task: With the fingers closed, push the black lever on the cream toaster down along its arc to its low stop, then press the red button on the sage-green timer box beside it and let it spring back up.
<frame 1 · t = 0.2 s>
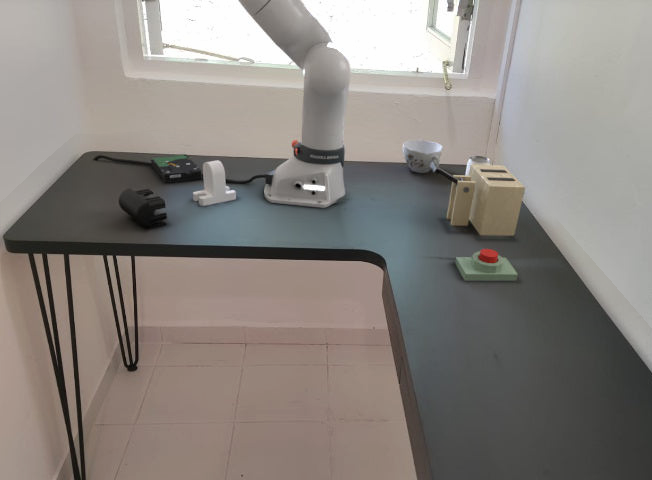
hand: (454, 13, 144), 48 cm above the table, tool pointing down, fingers open, 8 cm apart
button: (488, 256, 132), point 4 cm above the table, slide at 0.1 cm
lever bracket: (456, 226, 154), on the table
teacup: (421, 171, 189), on the table
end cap: (144, 222, 140), on the table
lever: (450, 177, 147), point 13 cm above the table, hinge at 28.0°
disk drive: (176, 173, 169), on the table
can: (472, 200, 172), on the table
toaster: (486, 226, 156), on the table
white mounting bracket: (214, 199, 155), on the table
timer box: (485, 272, 134), on the table
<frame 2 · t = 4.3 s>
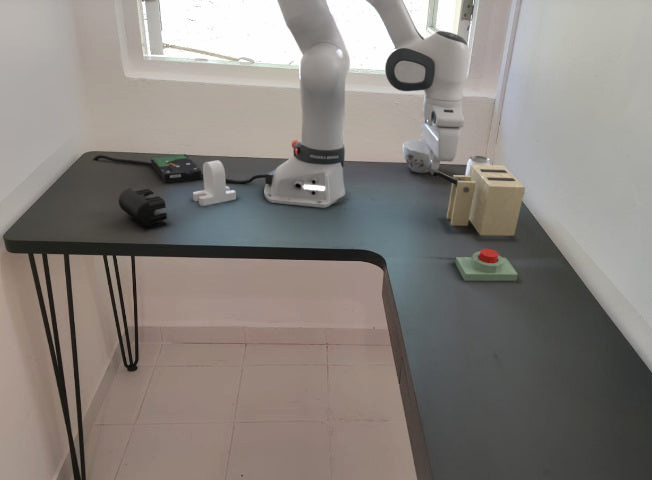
hand: (433, 167, 145), 15 cm above the table, tool pointing down, fingers closed, pressing on lever
lever: (449, 179, 147), point 13 cm above the table, hinge at 22.7°, touching gripper
everything else where it was.
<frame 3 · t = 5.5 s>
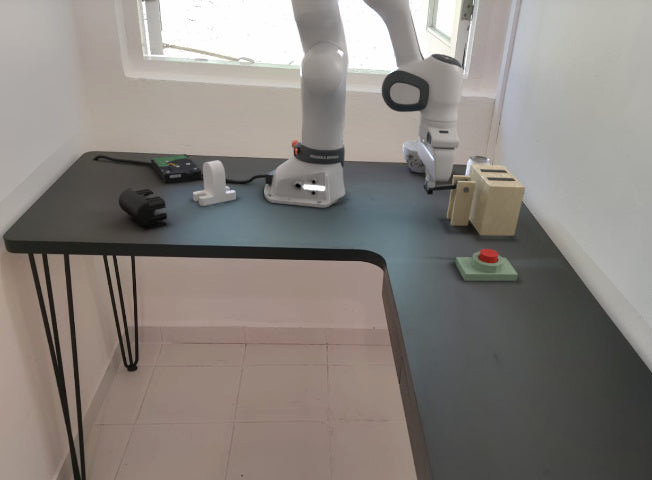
hand: (429, 186, 147), 11 cm above the table, tool pointing down, fingers closed, pressing on lever
lever: (447, 186, 148), point 11 cm above the table, hinge at -6.7°, touching gripper
everything else where it was.
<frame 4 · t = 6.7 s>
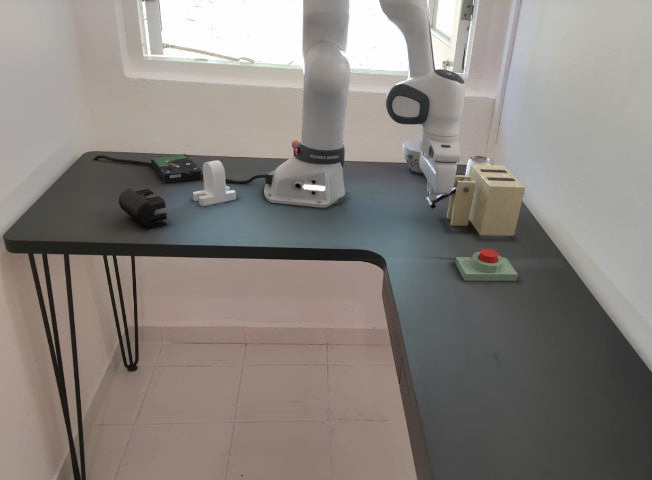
hand: (431, 198, 149), 7 cm above the table, tool pointing down, fingers closed, pressing on lever
lever: (448, 193, 149), point 9 cm above the table, hinge at -31.1°, touching gripper
everything else where it was.
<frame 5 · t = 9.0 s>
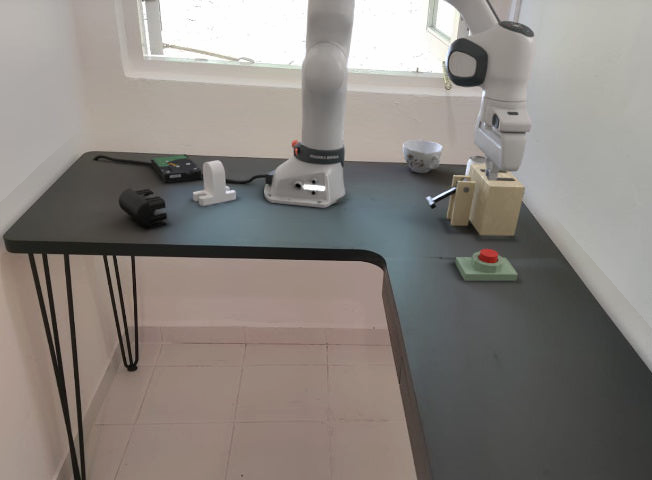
hand: (490, 178, 127), 20 cm above the table, tool pointing down, fingers closed
lever: (448, 193, 149), point 9 cm above the table, hinge at -31.2°
everything else where it was.
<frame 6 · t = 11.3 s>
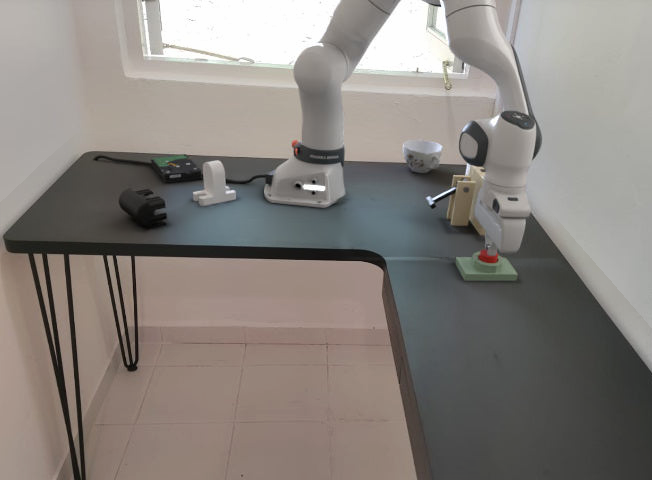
hand: (489, 253, 131), 5 cm above the table, tool pointing down, fingers closed, pressing on button
button: (488, 256, 132), point 4 cm above the table, slide at 0.0 cm, touching gripper
everything else where it was.
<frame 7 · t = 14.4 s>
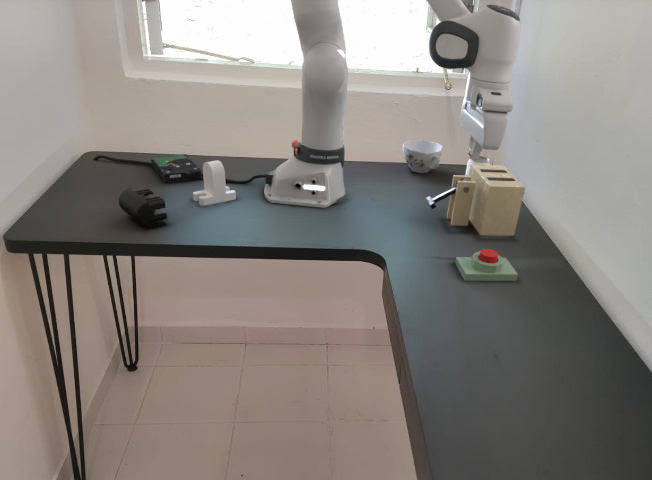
hand: (473, 157, 132), 22 cm above the table, tool pointing down, fingers closed
button: (488, 256, 132), point 4 cm above the table, slide at 0.1 cm
everything else where it was.
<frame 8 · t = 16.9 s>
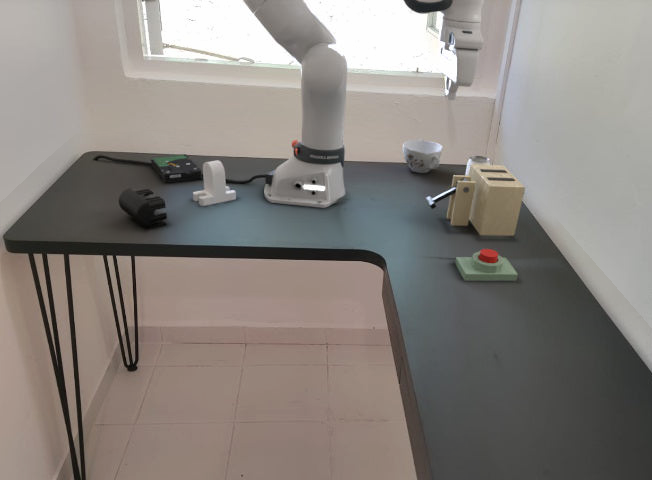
hand: (449, 98, 139), 31 cm above the table, tool pointing down, fingers closed
nothing on the table moved.
at the end: lever at -31° (first picture: +28°); button pushed in 1.0 cm at the most during the clip, back to where it started at the end; button slide at 0.1 cm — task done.
